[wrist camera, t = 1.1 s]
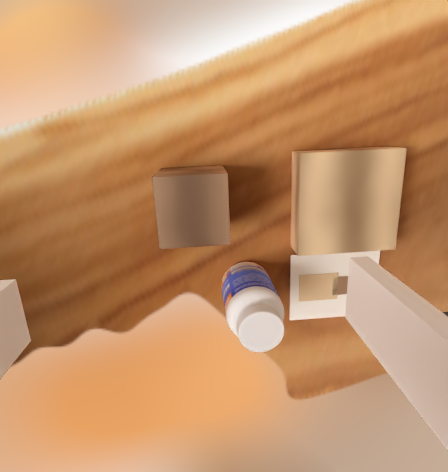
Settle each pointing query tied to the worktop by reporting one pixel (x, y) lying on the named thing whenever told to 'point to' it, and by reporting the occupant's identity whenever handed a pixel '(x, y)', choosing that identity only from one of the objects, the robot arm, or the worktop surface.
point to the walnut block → (192, 206)
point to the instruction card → (321, 284)
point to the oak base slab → (346, 199)
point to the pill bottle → (253, 307)
